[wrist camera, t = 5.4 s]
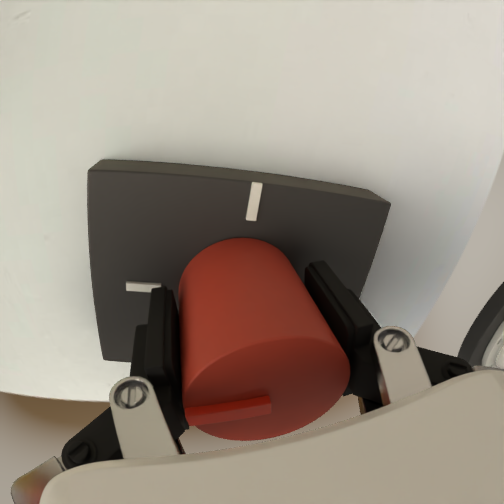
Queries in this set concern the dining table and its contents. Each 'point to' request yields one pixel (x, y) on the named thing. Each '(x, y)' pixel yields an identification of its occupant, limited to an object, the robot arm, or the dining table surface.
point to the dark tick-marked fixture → (211, 231)
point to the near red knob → (254, 344)
